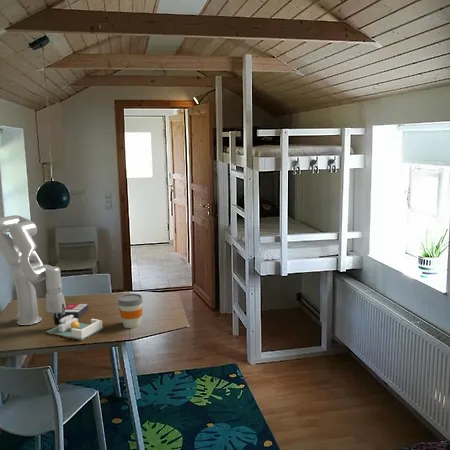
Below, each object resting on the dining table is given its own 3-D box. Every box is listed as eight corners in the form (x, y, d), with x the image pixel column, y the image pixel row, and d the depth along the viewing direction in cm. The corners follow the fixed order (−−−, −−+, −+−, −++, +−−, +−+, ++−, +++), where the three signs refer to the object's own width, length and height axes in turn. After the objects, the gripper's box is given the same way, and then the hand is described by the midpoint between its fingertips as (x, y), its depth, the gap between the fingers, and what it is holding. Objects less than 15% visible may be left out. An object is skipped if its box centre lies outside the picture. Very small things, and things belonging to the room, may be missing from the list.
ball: (69, 330, 247) (68, 322, 246) (75, 327, 251) (74, 319, 250) (75, 331, 245) (74, 323, 244) (81, 328, 249) (81, 320, 248)
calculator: (88, 303, 281) (78, 311, 266) (88, 310, 281) (78, 318, 266) (70, 303, 282) (59, 311, 267) (70, 310, 282) (59, 318, 268)
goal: (72, 336, 239) (71, 329, 238) (93, 325, 252) (92, 318, 251) (82, 338, 236) (81, 331, 235) (102, 327, 249) (102, 320, 248)
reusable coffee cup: (118, 322, 258) (116, 295, 256) (141, 318, 263) (139, 292, 260) (122, 330, 247) (119, 302, 244) (146, 326, 251) (144, 299, 249)
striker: (57, 330, 246) (56, 320, 245) (73, 323, 256) (72, 313, 255) (62, 332, 244) (61, 321, 243) (78, 324, 254) (77, 314, 253)
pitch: (46, 333, 247) (45, 331, 246) (69, 322, 261) (68, 320, 260) (81, 341, 236) (81, 339, 236) (103, 329, 250) (103, 327, 250)
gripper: (38, 291, 250) (42, 324, 253) (59, 294, 243) (63, 328, 246) (49, 287, 256) (53, 319, 260) (70, 290, 250) (73, 323, 253)
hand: (57, 324), depth 253 cm, fingers closed
